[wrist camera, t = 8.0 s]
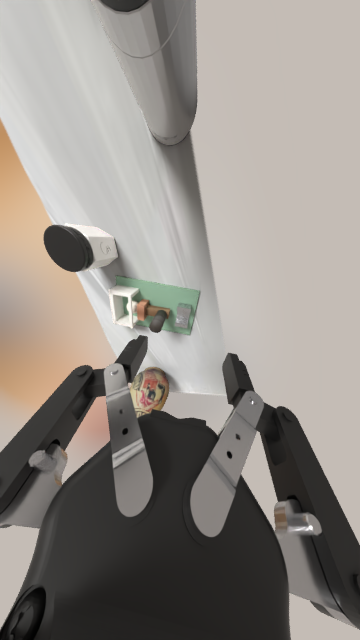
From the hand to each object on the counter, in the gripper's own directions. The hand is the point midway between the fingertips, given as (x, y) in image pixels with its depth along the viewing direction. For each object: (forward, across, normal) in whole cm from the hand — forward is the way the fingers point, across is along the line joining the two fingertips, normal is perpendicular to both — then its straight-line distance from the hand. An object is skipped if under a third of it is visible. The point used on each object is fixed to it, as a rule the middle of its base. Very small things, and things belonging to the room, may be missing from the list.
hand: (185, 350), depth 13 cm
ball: (+26, +17, +11) cm, 33 cm away
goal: (+28, +19, +11) cm, 35 cm away
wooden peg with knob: (+27, +10, +11) cm, 31 cm away
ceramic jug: (+28, +10, +44) cm, 53 cm away
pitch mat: (+28, +10, +11) cm, 32 cm away
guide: (+28, +2, +11) cm, 30 cm away
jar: (+28, +26, -4) cm, 39 cm away
